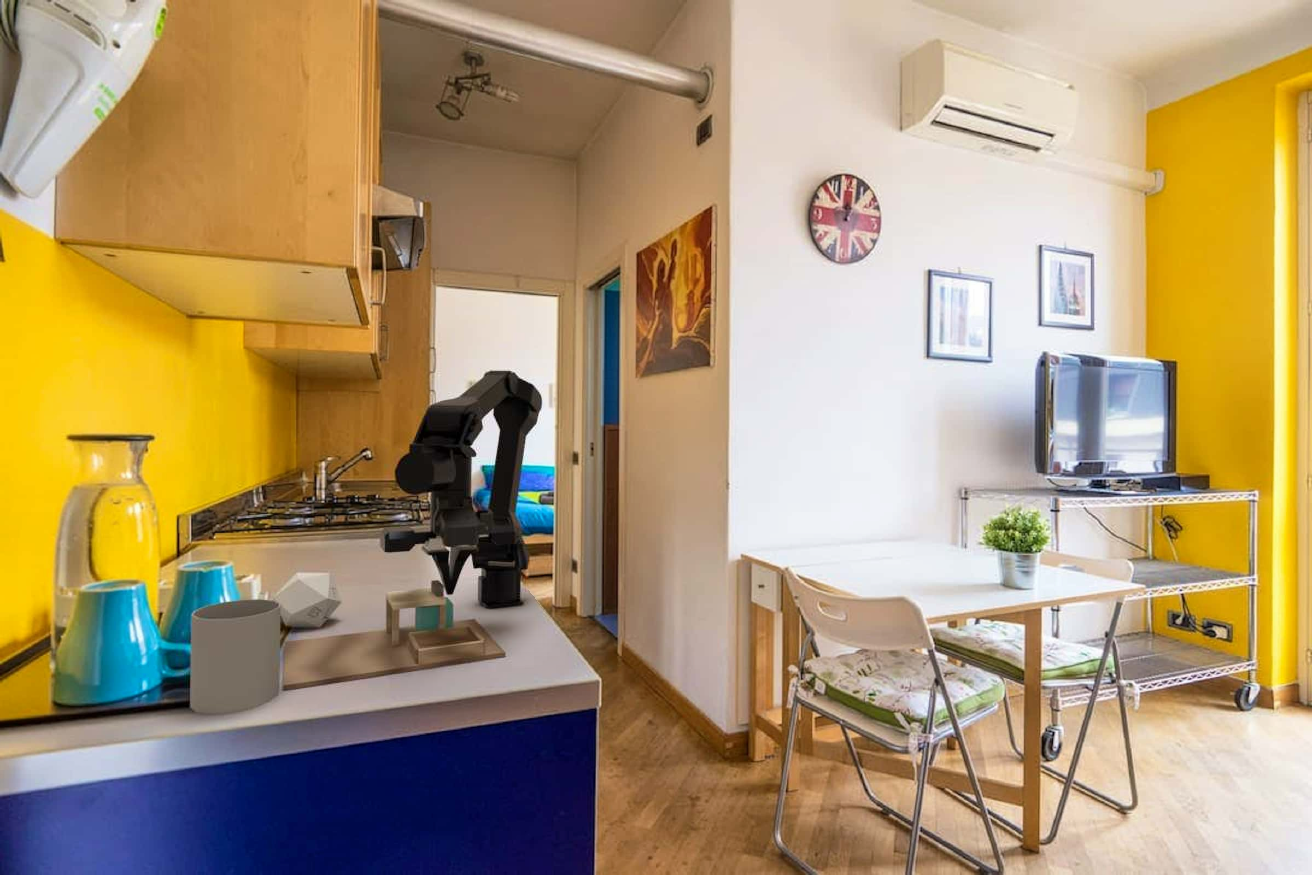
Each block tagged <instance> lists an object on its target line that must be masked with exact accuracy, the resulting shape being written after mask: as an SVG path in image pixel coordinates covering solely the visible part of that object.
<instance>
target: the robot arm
mask: <svg viewBox="0 0 1312 875" xmlns="http://www.w3.org/2000/svg"><path fill="white" fill-rule="evenodd" d="M542 406H543V398H542V395H541V393H540V391H539V390H538V389H537V388H536V386H535V385H534V384H532V383H531V382H528V381H527V380H525V379H523V378H520V377H519V376H518V375H517V373H516V372H514V371H512V370H492V369H491V370H489V371H486V372H485V373H484V375H483V377H482V378H480V379H479V380H478V381H477V382H476V383H474V384H473V385H472V386H470V387H469V388H468V389H467V390H465V391H464V392H463V393H462V394H460V395H459V396H457V397H455V398H450V399H449V398H448V399H445V400H440V401H437V402H435V403H432V404H431V405H430V406H429V407H427V409H426V411H425V413H424V415H423V418H422V419H421V422H420V424H419V426H418V429H417V432H416V434H415V436H414V438H413V441H412V443H410V444H409V447H408V449H409V450H408V453H406V454H404V455H403V456H401V458H400V459H399V461H398V462H397V464H396V467H395V468H394V478H395V482H396V484H397V486H398V487H399V489H401V490H402V492H404V493H406V494H409V495H413V496H417V495H423V494H428V493H430V496H429V497H430V498H429V499H430V510H429V511H430V519H429V530H422V531H421V530H420V531H415V529H413V528H412V527H411V526H409V525H407V526H390V527H389V526H387V527H384V528H383V529H382V530H381V531H380V535H379V547H380V548H381V549H382V551H383V552H384V553H403V552H410V551H411V550H412V549H414V547H415V546H416V545H422V546H421V551H423V553H425V554H426V556H431V558H432V561H434V564H435V566H436V568H437V571H438V574H439V576H440V580H441V584H442V585H443V586H444V591H445V593H446V595H447V596H450V595H451V596H452V595H454V593H455V589H456V587H457V583H458V581H459V578H460V575H461V573H462V570H463V568H464V566H465V564H466V562H467V560H468V558H470V557H471V562H472V567H473V569H475V570H476V569H481V570H480V571H481V575H479V576H478V577H477V600H478V601H479V602H480V603H481V604H482V605H483V606H484V608H487V609H491V608H501V607H510V606H518V605H524V603H525V602H524V600H522V598H521V591H522V590H521V588H522V586H521V585H522V584H521V582H522V581H521V579H522V578H521V577H522V571H524V570H528V569H529V564H530V556H531V554H530V552H529V550H528V548H527V545H526V543H525V541H524V538H523V530H524V529H523V526H522V525H521V522H520V520H519V518H518V515H517V504H518V496H519V492H520V491H519V490H520V484H521V475H522V467H523V462H524V461H523V460H524V453H525V448H526V440H527V436H528V434H530V432H531V431H532V430H533V428H534V427H535V426H536V425H537V423H538V419H539V414H540V412H541V410H542V408H543V407H542ZM492 410H493V412H492V414H493V418H494V420H495V422H496V425H497V427H498V428H499V434H498V442H497V447H496V452H495V453H496V454H495V460H494V468H493V473H492V479H491V480H492V481H491V488H490V493H489V501H488V507H487V508H486V509H483V508H482V509H477V510H476V511H475V509H474V505H473V496H472V462H473V460H472V459H473V458H475V457H477V452H476V450H475V449H474V448H472V446H473V444H474V442H475V441H476V440H477V438H478V436H479V435H480V433H481V432H482V431H483V430H484V426H483V419H484V418H485V417H486V416H487V415H488V414H489V413H490V412H491V411H492ZM447 547H448V548H450V550H449V549H447Z"/></svg>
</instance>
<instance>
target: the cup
mask: <svg viewBox="0 0 1312 875" xmlns="http://www.w3.org/2000/svg"><path fill="white" fill-rule="evenodd" d="M280 612H281V603H279V602H276V601H274V599H273V600H271V599H261V598H260V599H259V598H258V599H257V598H255V599H239V600H230V601H223V602H218V603H213V604H210V605H209V604H208V605H205V606H203V607H200V608H198V609H196V610H193V612H192V613H191V616H190V617H191V621H190V678H189V679H190V682H189V683H190V684H189V685H190V686H189V689H190V690H189V693H190V694H189V696H190V697H189V708H190V710H192V711H193V712H195V713H196V714H205V715H221V714H222V715H223V714H232V713H237V712H241V711H245V710H251V709H254V708H257V707H259V706H261V705H264V704H267V703H269V702H270V701H272V700H273V699H275V698H276V697H278V696H279V693H280V671H281V669H280V668H281V667H280V666H281V665H280V664H281V663H280V662H281V657H280V656H281V615H280Z"/></svg>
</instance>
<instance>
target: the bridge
mask: <svg viewBox="0 0 1312 875" xmlns="http://www.w3.org/2000/svg"><path fill="white" fill-rule="evenodd" d="M430 583H431V584H430V585H431V586H430V587H427V588H416V589H414V588H413V589H407V590H406V589H405V590H395V591H394V590H393V591H386V595H385V596H386V598H385V599H386V600H385V630H386V632H392V646H398V645H399V628H400V610H405V609H411V608H415V607H424V606H433V605H439V629H441V628H446V599H445V597H446V596H444V595H445V594H444V591H445V589H444V586H443V583H442V581H441V582H440V580H439V579H436V580H431V582H430Z"/></svg>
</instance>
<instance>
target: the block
mask: <svg viewBox="0 0 1312 875" xmlns="http://www.w3.org/2000/svg"><path fill="white" fill-rule="evenodd" d="M444 597H445V599H446V628H449V627H453V621H454V603H453V602H452V601H451V600H450V599H449V597H447V596H444ZM414 611H415V612H414V614H415V615H414V616H415V618H414V626H415V631H416V632H418V631H426V630H434V629H439V605H433V606H424V607H415V610H414Z"/></svg>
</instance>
